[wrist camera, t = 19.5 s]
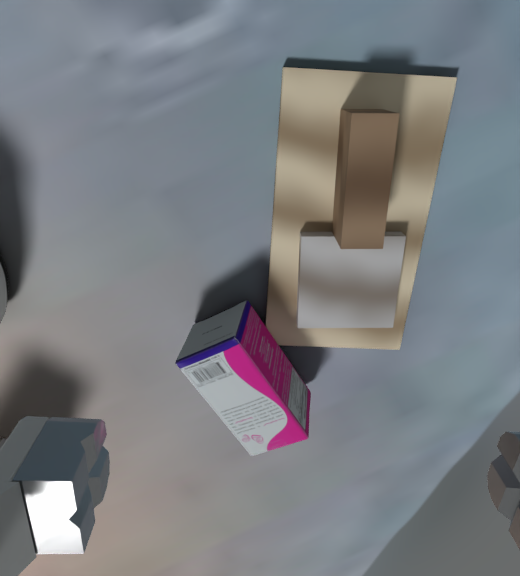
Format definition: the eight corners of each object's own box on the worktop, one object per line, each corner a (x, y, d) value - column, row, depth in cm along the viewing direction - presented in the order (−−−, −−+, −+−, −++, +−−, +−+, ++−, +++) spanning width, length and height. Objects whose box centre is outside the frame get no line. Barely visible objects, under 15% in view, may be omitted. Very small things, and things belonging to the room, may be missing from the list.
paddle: (305, 108, 32) (311, 113, 29) (418, 109, 33) (439, 113, 29) (296, 321, 40) (300, 346, 36) (389, 320, 40) (402, 345, 36)
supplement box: (193, 321, 41) (259, 411, 45) (173, 363, 35) (249, 461, 40) (249, 296, 39) (312, 393, 43) (236, 337, 33) (309, 443, 38)
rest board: (282, 67, 32) (283, 67, 31) (452, 77, 33) (457, 77, 32) (264, 339, 41) (264, 344, 40) (396, 344, 42) (399, 349, 41)
